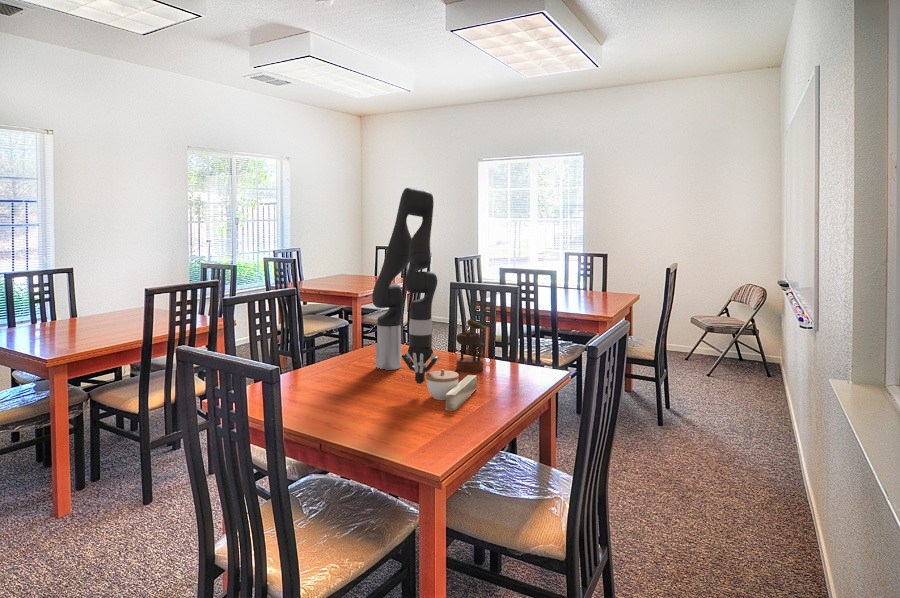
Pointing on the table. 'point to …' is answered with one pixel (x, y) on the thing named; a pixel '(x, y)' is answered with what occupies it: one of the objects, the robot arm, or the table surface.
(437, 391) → the lidded jar
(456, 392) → the grey long bar
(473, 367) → the music box
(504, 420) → the table surface
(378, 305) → the robot arm
